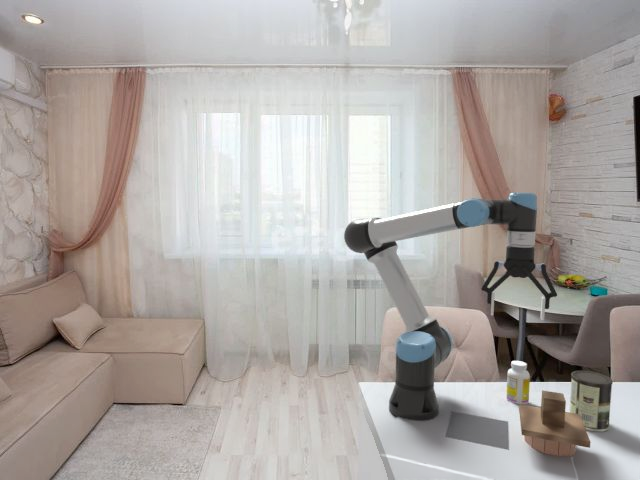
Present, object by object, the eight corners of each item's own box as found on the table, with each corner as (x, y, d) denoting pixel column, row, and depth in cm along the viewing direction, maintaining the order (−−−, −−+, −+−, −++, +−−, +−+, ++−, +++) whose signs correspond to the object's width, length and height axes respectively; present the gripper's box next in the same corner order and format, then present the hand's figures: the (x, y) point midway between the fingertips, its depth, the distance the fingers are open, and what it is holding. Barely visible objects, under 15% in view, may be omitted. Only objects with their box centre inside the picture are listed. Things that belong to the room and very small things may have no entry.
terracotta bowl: (525, 451, 115) (526, 429, 115) (523, 429, 126) (524, 409, 126) (578, 462, 111) (579, 439, 110) (571, 438, 122) (572, 417, 121)
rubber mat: (445, 438, 121) (445, 436, 121) (451, 412, 136) (451, 411, 136) (508, 451, 115) (508, 449, 115) (507, 423, 130) (508, 421, 130)
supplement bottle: (527, 398, 146) (529, 360, 145) (529, 407, 140) (531, 368, 139) (505, 395, 148) (507, 358, 147) (506, 404, 142) (508, 365, 141)
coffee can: (600, 416, 135) (603, 371, 133) (615, 434, 125) (619, 385, 123) (563, 413, 137) (566, 368, 135) (575, 429, 127) (578, 382, 125)
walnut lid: (521, 434, 112) (523, 402, 111) (519, 409, 126) (520, 380, 125) (590, 447, 106) (592, 413, 106) (579, 419, 120) (581, 389, 119)
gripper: (474, 244, 130) (471, 315, 132) (570, 249, 121) (566, 325, 123) (476, 242, 137) (473, 309, 139) (567, 246, 128) (562, 318, 130)
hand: (516, 317), depth 131 cm, fingers open, 13 cm apart
